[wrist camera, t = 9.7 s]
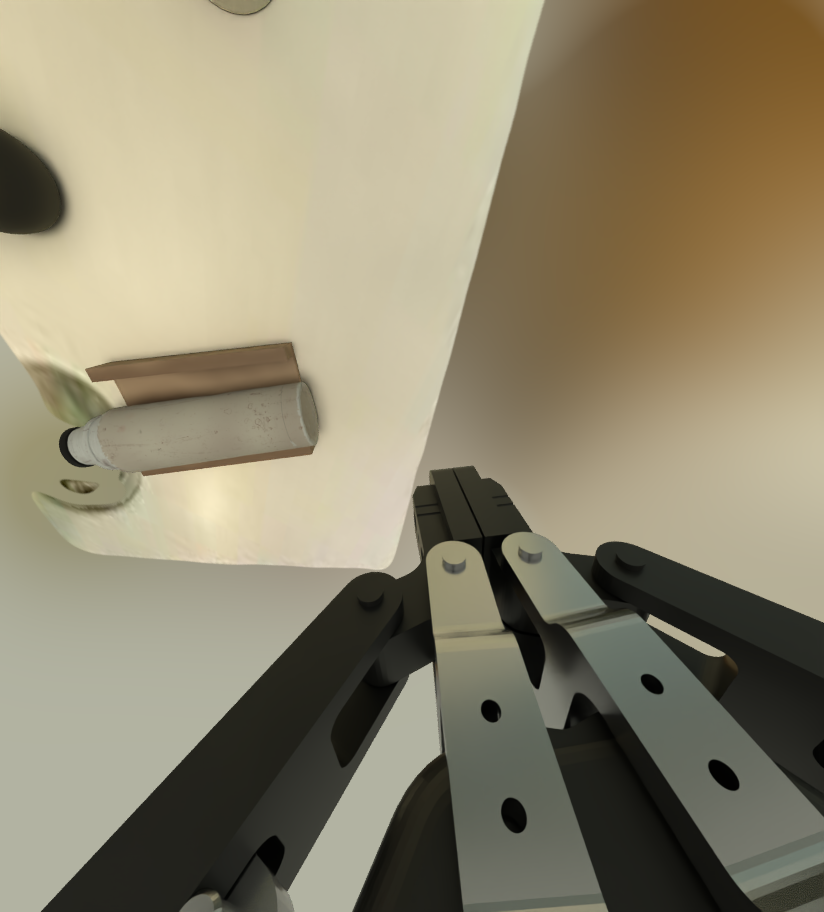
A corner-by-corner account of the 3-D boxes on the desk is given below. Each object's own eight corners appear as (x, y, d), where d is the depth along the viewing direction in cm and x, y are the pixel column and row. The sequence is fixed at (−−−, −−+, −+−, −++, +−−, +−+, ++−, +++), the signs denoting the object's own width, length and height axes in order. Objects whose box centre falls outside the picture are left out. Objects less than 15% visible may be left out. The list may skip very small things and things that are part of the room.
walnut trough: (110, 362, 40) (84, 369, 36) (291, 342, 41) (284, 347, 38) (160, 462, 46) (143, 476, 43) (316, 442, 48) (312, 454, 44)
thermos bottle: (317, 403, 46) (113, 432, 45) (298, 368, 39) (52, 402, 37) (320, 455, 43) (101, 488, 42) (299, 427, 36) (33, 466, 34)
